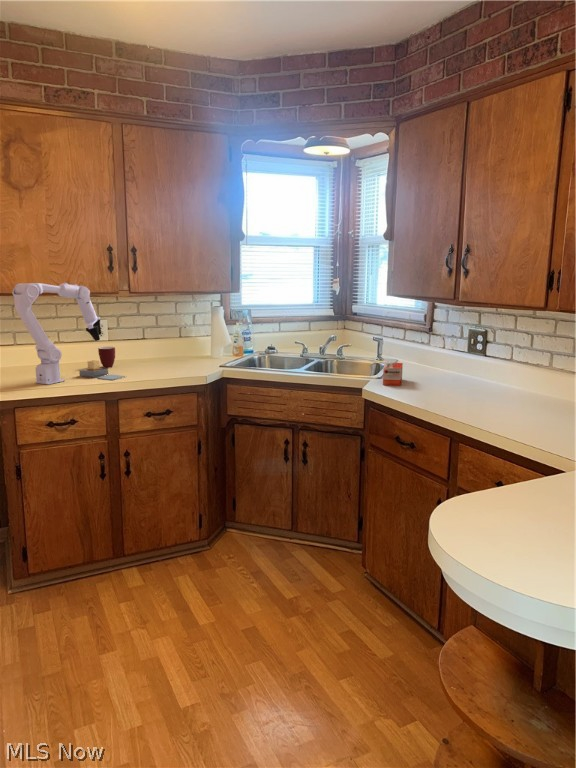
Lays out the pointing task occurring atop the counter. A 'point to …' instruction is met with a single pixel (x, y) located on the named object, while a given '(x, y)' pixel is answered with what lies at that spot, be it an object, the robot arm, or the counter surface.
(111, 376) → the slate mat
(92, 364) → the beige block
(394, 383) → the medicine box
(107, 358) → the mug
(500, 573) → the counter surface
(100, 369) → the block
